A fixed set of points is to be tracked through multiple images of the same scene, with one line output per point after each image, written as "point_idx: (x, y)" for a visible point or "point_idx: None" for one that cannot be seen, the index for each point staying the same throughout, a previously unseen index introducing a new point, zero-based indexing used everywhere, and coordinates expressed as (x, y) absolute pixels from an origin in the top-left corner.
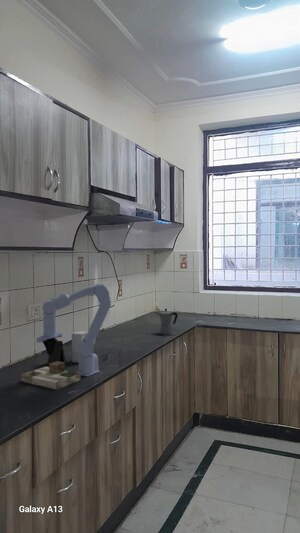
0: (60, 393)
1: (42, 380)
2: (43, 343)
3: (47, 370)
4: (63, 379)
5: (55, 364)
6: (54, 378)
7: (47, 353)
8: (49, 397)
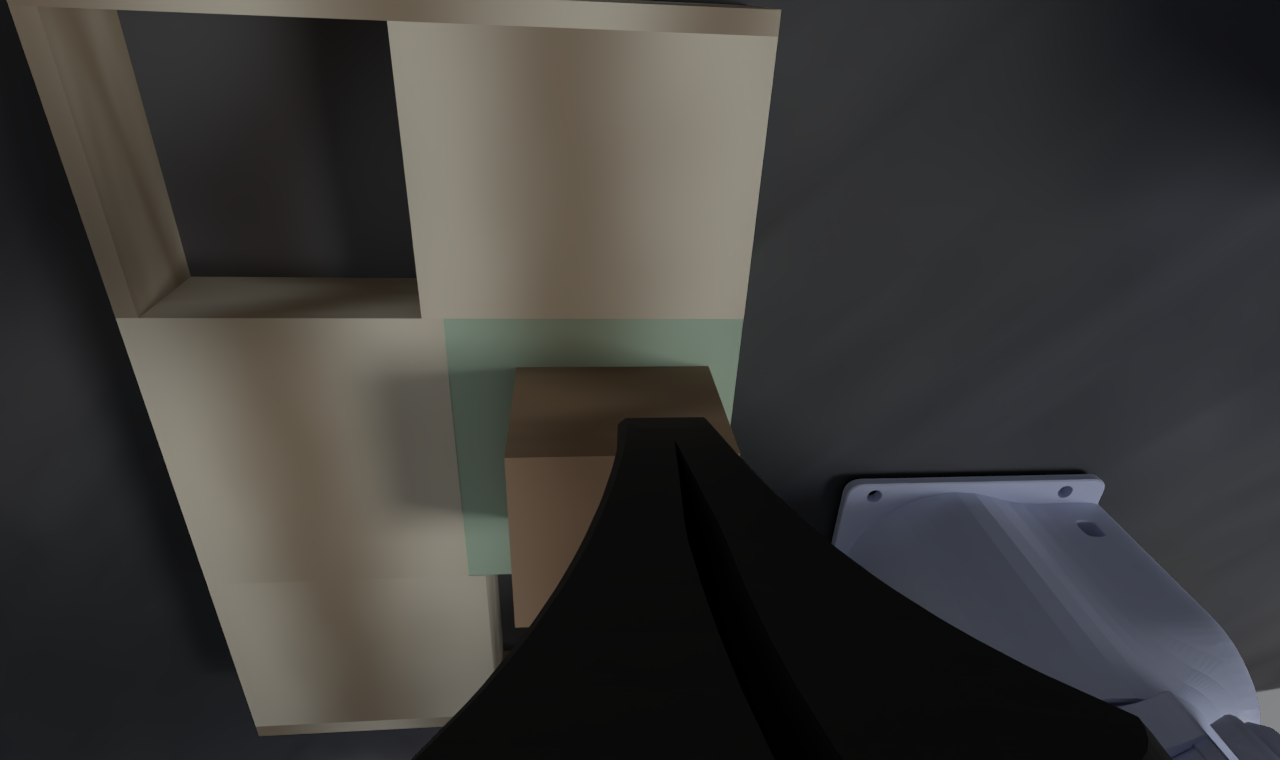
0: (246, 742)
1: (199, 529)
2: (474, 703)
3: (575, 266)
4: (399, 716)
5: (539, 581)
6: (347, 625)
7: (620, 438)
8: (92, 741)
